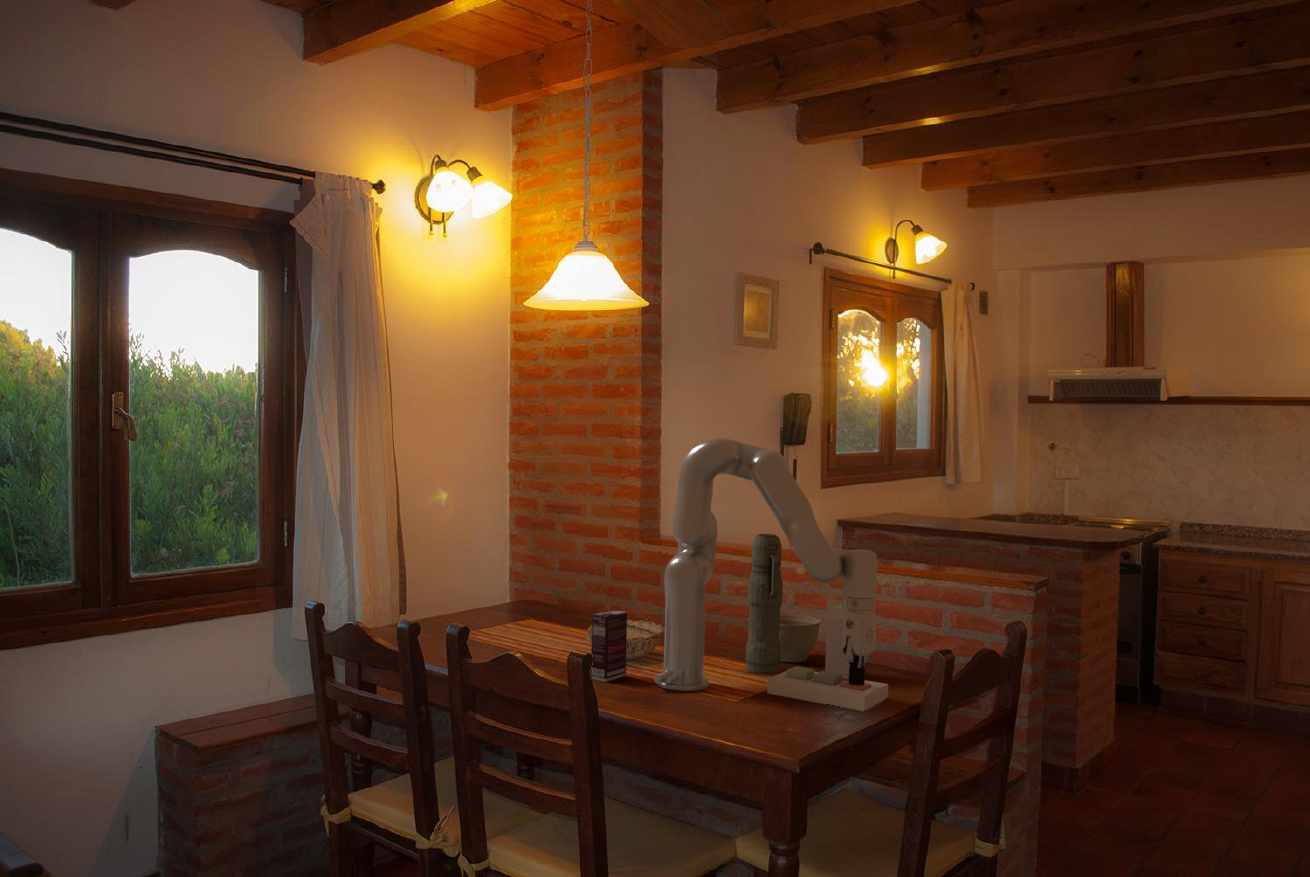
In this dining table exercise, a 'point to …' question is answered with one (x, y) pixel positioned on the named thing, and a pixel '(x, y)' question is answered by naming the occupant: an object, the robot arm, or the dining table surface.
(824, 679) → the grey key
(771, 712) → the dining table surface
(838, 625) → the milk carton
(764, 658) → the thermos
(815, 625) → the planter bowl
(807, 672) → the sage key
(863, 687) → the terracotta key
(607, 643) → the supplement box
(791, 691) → the keypad
